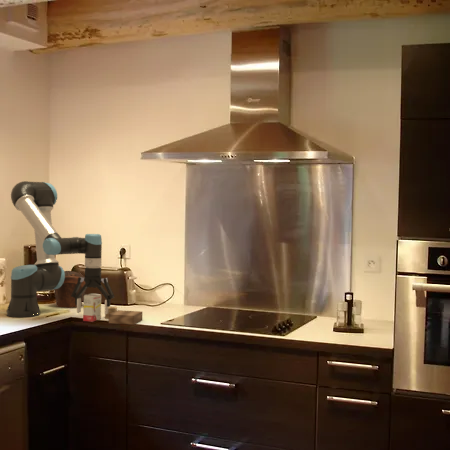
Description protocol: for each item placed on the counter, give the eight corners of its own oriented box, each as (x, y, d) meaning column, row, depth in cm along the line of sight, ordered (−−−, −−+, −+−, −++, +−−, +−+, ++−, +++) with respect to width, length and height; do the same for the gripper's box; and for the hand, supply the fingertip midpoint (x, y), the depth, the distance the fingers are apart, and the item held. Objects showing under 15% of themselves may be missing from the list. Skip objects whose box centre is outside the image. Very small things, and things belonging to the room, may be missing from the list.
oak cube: (105, 318, 295) (105, 308, 295) (106, 317, 300) (106, 306, 300) (115, 318, 295) (116, 308, 295) (116, 317, 300) (117, 306, 300)
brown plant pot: (69, 309, 317) (70, 274, 316) (43, 306, 327) (43, 271, 327) (95, 306, 331) (96, 272, 331) (68, 302, 342) (69, 270, 342)
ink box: (92, 322, 286) (92, 296, 285) (82, 321, 287) (83, 295, 287) (101, 319, 294) (101, 293, 293) (92, 318, 295) (92, 293, 295)
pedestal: (108, 323, 284) (108, 314, 284) (117, 318, 295) (118, 310, 295) (134, 324, 281) (134, 315, 281) (142, 320, 293) (142, 311, 293)
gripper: (64, 267, 288) (63, 313, 289) (115, 268, 284) (115, 315, 284) (71, 265, 296) (70, 310, 296) (121, 267, 291) (121, 312, 292)
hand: (92, 313), depth 290 cm, fingers open, 13 cm apart
